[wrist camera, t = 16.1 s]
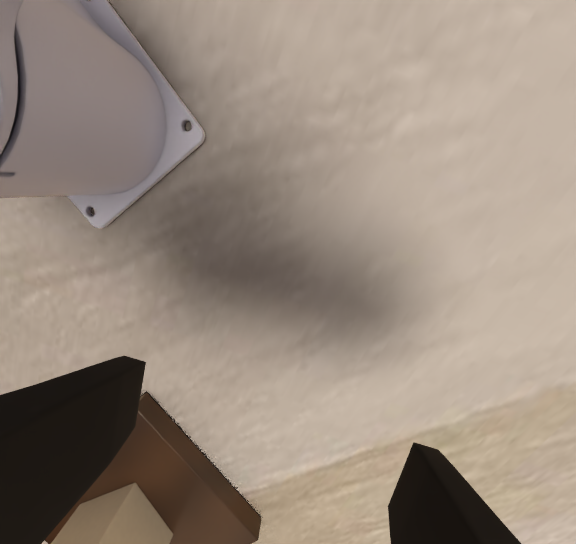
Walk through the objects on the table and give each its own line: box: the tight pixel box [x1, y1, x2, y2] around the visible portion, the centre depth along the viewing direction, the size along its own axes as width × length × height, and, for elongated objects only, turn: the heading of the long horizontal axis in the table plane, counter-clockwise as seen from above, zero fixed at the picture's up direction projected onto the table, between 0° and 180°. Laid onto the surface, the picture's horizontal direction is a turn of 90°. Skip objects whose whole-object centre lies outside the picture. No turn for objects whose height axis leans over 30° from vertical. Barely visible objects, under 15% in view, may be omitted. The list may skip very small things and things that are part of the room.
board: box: [45, 393, 261, 544], centre depth 22 cm, size 12×13×2 cm
